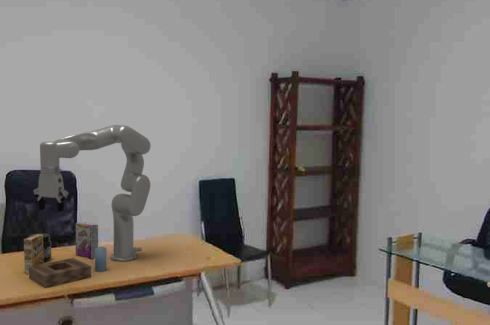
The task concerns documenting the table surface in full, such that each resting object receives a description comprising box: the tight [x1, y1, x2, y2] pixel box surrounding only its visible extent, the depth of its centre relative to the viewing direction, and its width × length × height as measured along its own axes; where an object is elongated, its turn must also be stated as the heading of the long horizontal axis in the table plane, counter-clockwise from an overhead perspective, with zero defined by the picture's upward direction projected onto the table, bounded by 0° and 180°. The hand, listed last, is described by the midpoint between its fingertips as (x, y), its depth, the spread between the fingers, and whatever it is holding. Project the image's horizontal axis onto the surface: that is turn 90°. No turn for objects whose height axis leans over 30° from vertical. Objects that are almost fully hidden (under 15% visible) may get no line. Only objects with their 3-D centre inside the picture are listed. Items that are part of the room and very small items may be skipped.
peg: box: [94, 246, 107, 273], centre depth 222 cm, size 5×5×10 cm
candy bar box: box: [74, 221, 99, 260], centre depth 242 cm, size 11×5×16 cm, turn 59°
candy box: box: [23, 233, 45, 274], centre depth 219 cm, size 9×4×15 cm, turn 171°
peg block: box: [28, 257, 92, 289], centre depth 210 cm, size 20×16×5 cm
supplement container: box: [28, 232, 52, 263], centre depth 234 cm, size 10×10×12 cm
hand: (51, 210), depth 211 cm, fingers open, 9 cm apart
